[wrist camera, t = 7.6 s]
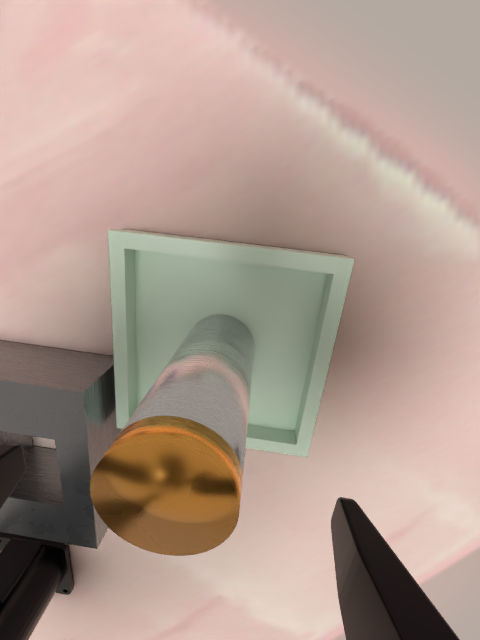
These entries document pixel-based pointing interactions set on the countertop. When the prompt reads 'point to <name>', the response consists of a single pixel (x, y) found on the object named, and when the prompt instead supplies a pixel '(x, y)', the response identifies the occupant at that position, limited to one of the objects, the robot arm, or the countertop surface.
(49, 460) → the block
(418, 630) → the robot arm
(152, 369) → the tray
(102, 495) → the pin
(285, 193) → the countertop surface
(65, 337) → the countertop surface
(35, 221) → the countertop surface
